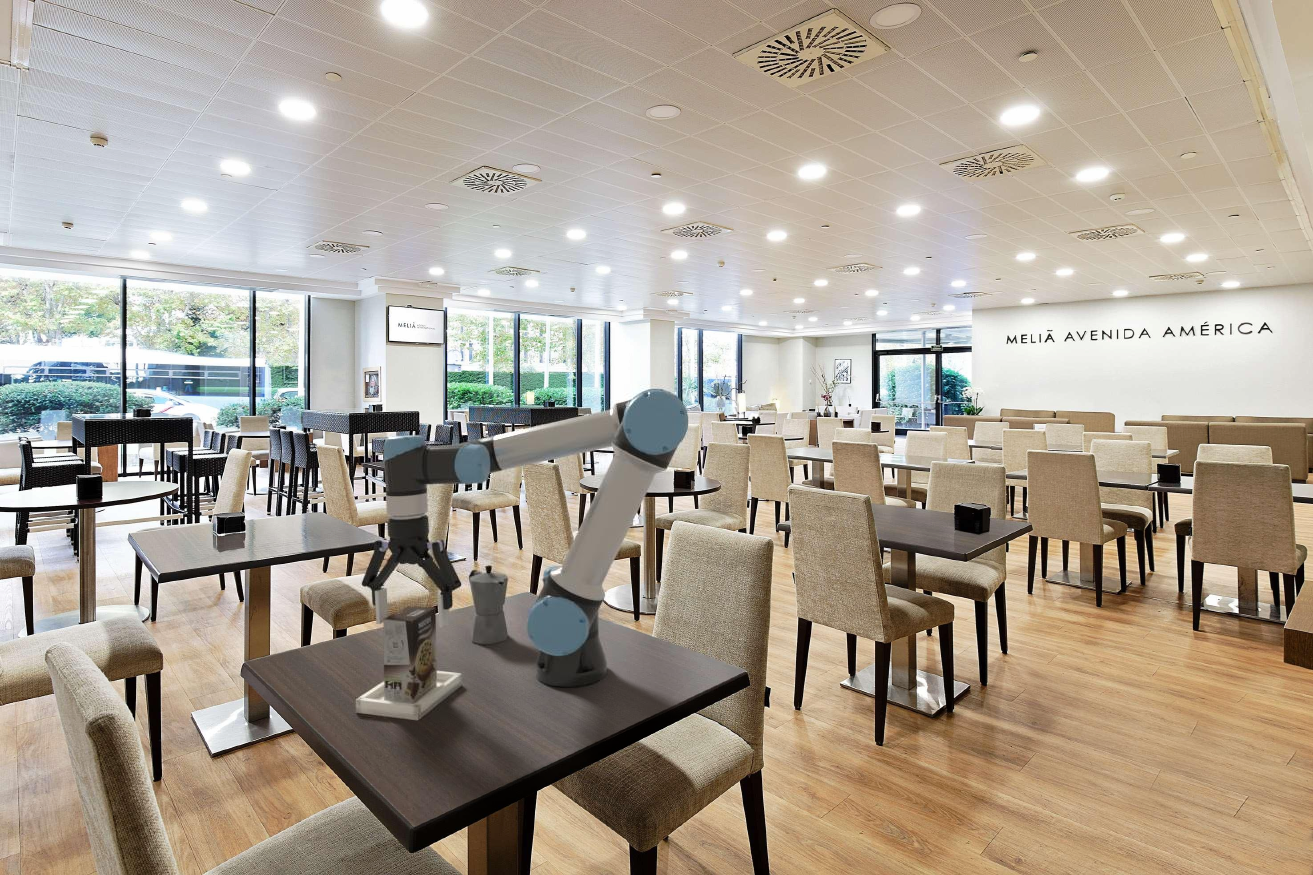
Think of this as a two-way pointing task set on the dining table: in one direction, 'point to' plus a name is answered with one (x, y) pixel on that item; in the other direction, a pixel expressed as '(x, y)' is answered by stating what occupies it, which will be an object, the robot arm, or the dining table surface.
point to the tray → (378, 706)
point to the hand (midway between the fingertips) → (413, 623)
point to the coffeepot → (488, 606)
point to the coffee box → (409, 654)
